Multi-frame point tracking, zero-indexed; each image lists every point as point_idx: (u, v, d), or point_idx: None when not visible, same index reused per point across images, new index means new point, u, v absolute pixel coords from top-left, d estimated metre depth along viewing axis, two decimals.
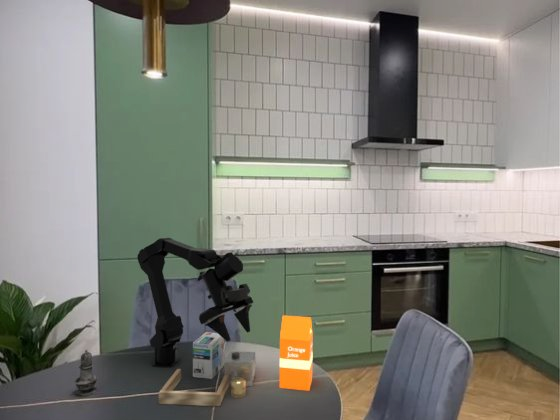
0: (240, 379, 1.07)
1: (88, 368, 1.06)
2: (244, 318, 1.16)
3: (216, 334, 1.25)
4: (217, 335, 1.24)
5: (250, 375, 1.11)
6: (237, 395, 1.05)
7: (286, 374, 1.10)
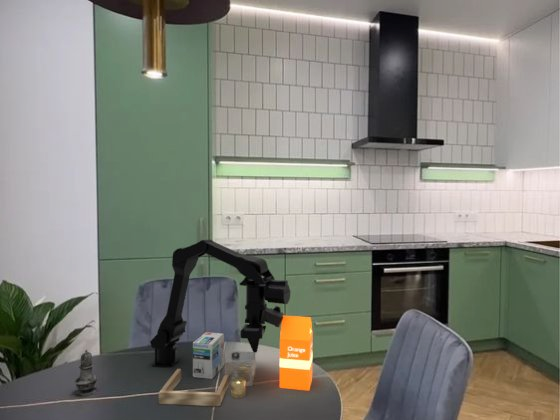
0: (240, 379, 1.07)
1: (88, 368, 1.06)
2: None
3: (216, 334, 1.25)
4: (217, 335, 1.24)
5: (250, 375, 1.11)
6: (237, 395, 1.05)
7: (286, 374, 1.10)
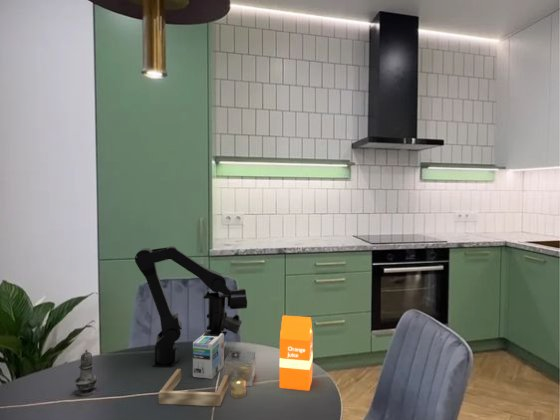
0: (240, 379, 1.07)
1: (88, 368, 1.06)
2: None
3: None
4: None
5: (250, 375, 1.11)
6: (237, 395, 1.05)
7: (286, 374, 1.10)
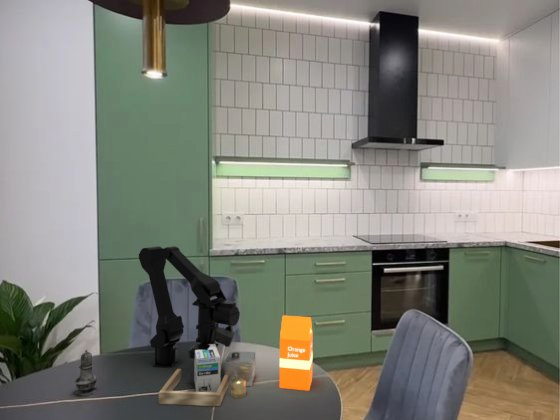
0: (240, 379, 1.07)
1: (88, 368, 1.06)
2: None
3: None
4: (211, 346, 1.13)
5: (250, 375, 1.11)
6: (237, 395, 1.05)
7: (286, 374, 1.10)
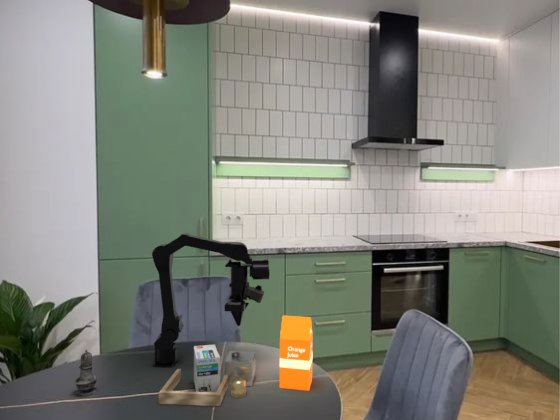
0: (240, 379, 1.07)
1: (88, 368, 1.06)
2: None
3: (208, 346, 1.14)
4: (211, 347, 1.13)
5: (250, 375, 1.11)
6: (237, 395, 1.05)
7: (286, 374, 1.10)
